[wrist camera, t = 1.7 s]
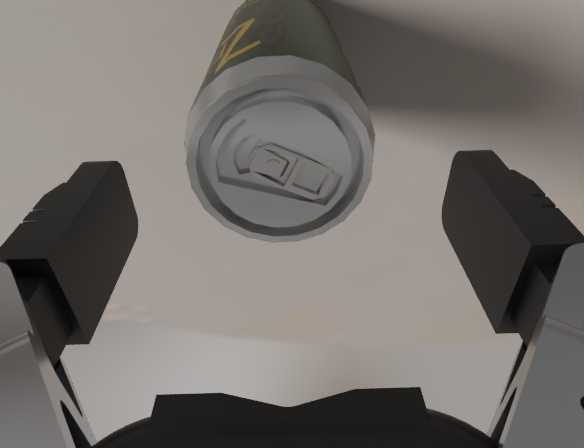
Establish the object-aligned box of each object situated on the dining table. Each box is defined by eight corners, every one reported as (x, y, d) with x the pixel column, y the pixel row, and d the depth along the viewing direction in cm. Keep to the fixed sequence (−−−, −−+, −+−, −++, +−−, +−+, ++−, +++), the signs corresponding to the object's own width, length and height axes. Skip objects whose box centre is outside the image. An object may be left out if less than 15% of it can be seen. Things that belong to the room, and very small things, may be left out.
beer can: (354, 18, 20) (423, 122, 10) (305, 117, 23) (324, 269, 13) (248, -36, 19) (215, 25, 9) (209, 76, 22) (154, 213, 12)
